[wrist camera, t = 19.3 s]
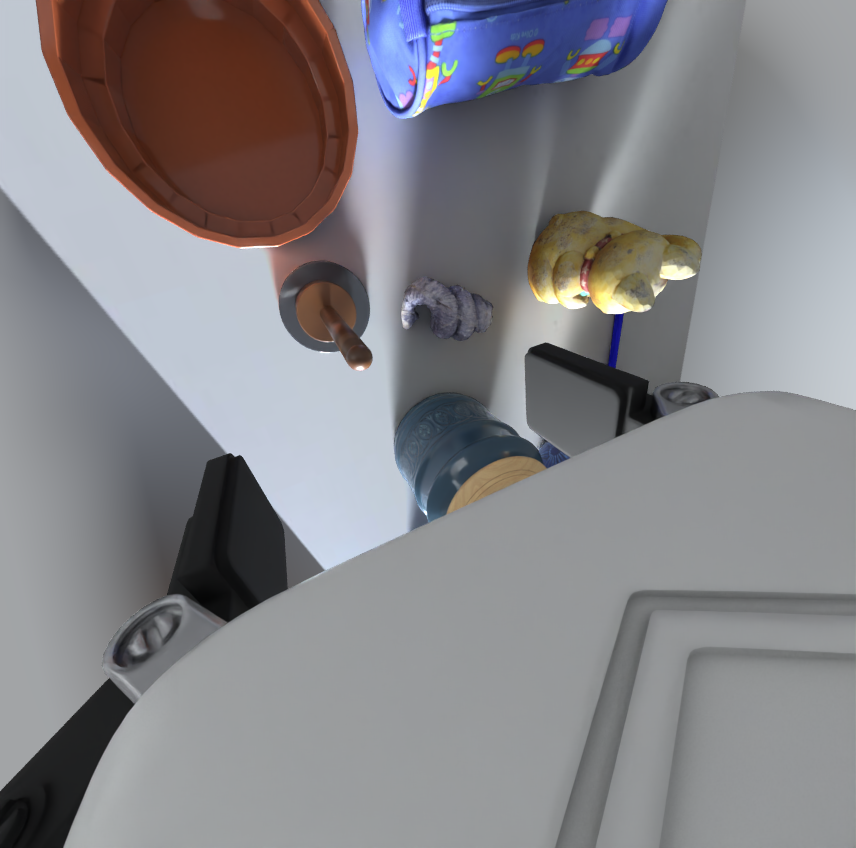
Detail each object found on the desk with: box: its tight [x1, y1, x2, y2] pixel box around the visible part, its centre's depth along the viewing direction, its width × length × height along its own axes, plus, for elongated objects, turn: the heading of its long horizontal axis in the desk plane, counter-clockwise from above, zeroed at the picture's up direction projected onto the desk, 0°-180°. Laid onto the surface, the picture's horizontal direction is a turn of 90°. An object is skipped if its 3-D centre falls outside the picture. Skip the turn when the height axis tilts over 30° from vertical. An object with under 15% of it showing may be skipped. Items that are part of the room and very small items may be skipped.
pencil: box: [608, 313, 624, 368], centre depth 46 cm, size 17×1×1 cm, turn 8°
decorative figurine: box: [528, 211, 702, 314], centre depth 32 cm, size 10×8×15 cm
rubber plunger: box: [295, 280, 373, 371], centre depth 25 cm, size 5×5×16 cm
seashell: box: [401, 277, 493, 341], centre depth 34 cm, size 5×5×10 cm
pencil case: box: [361, 0, 667, 118], centre depth 24 cm, size 22×9×10 cm, turn 105°
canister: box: [394, 393, 547, 523], centre depth 36 cm, size 13×13×18 cm
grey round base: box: [279, 261, 370, 353], centre depth 32 cm, size 8×8×1 cm
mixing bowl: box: [36, 0, 358, 248], centre depth 22 cm, size 15×15×6 cm
